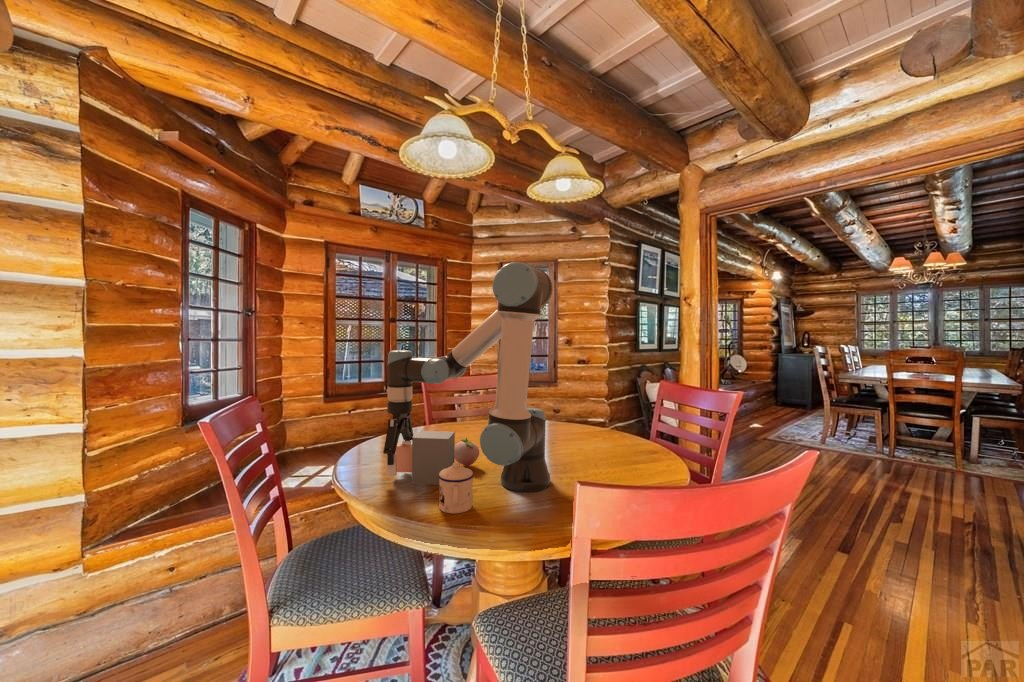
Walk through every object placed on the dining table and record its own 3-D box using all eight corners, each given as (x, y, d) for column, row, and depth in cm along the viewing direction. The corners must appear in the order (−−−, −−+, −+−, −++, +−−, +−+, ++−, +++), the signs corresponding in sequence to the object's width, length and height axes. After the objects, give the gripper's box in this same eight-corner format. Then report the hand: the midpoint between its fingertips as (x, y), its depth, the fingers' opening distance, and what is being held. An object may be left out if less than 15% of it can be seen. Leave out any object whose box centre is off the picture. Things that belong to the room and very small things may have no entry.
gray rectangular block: (454, 474, 133) (454, 431, 133) (447, 485, 124) (448, 438, 124) (420, 473, 134) (420, 430, 134) (411, 483, 125) (411, 437, 125)
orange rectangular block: (447, 471, 130) (447, 445, 130) (445, 473, 127) (445, 448, 127) (396, 469, 131) (396, 444, 131) (393, 471, 129) (393, 446, 128)
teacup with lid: (439, 500, 113) (439, 458, 113) (472, 499, 114) (473, 457, 114) (436, 520, 101) (436, 473, 101) (473, 519, 102) (474, 472, 102)
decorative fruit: (447, 465, 142) (448, 436, 142) (468, 461, 147) (468, 433, 147) (462, 473, 135) (462, 442, 134) (483, 468, 140) (483, 438, 140)
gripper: (401, 393, 142) (401, 455, 142) (371, 406, 117) (371, 481, 118) (423, 394, 141) (422, 455, 142) (397, 407, 116) (397, 482, 117)
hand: (399, 467), depth 130 cm, fingers open, 13 cm apart
